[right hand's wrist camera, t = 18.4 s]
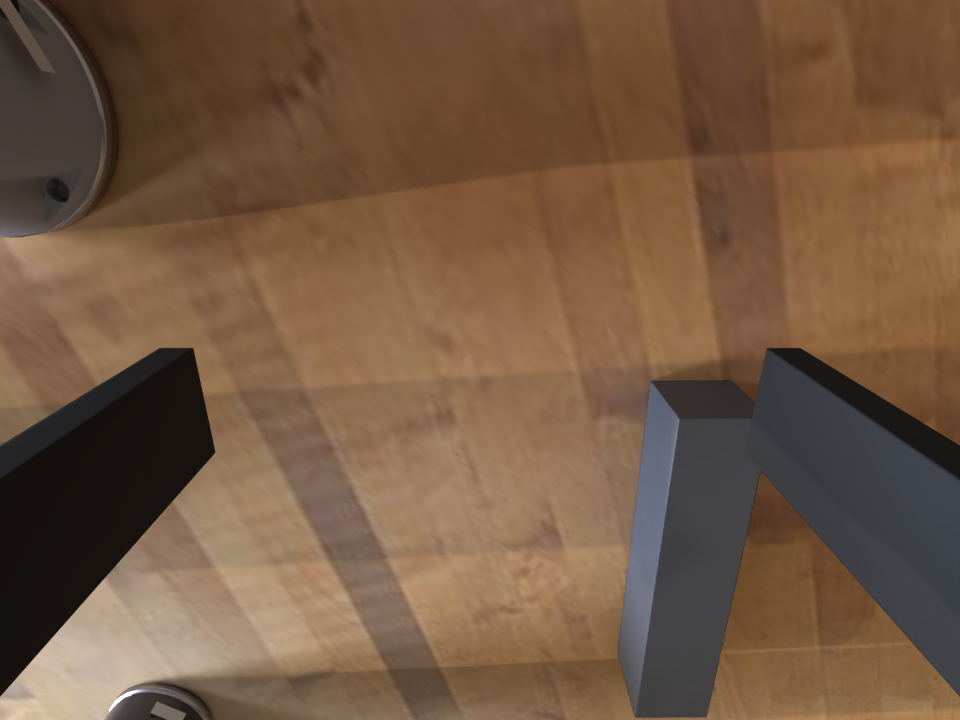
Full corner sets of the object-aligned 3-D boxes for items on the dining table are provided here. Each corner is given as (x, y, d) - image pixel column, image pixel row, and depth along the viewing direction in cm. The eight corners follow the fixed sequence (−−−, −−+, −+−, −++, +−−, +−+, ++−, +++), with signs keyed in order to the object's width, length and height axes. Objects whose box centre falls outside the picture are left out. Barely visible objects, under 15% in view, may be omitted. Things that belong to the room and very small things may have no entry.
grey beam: (617, 654, 49) (634, 718, 44) (650, 380, 39) (678, 418, 34) (681, 653, 49) (706, 717, 44) (731, 380, 39) (773, 417, 34)
